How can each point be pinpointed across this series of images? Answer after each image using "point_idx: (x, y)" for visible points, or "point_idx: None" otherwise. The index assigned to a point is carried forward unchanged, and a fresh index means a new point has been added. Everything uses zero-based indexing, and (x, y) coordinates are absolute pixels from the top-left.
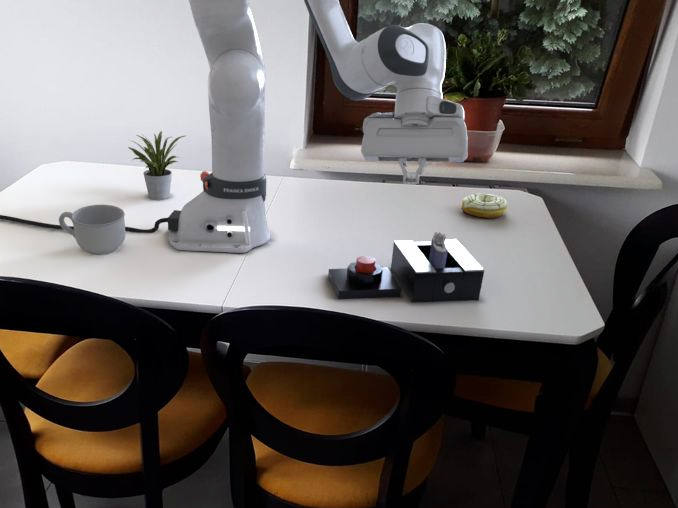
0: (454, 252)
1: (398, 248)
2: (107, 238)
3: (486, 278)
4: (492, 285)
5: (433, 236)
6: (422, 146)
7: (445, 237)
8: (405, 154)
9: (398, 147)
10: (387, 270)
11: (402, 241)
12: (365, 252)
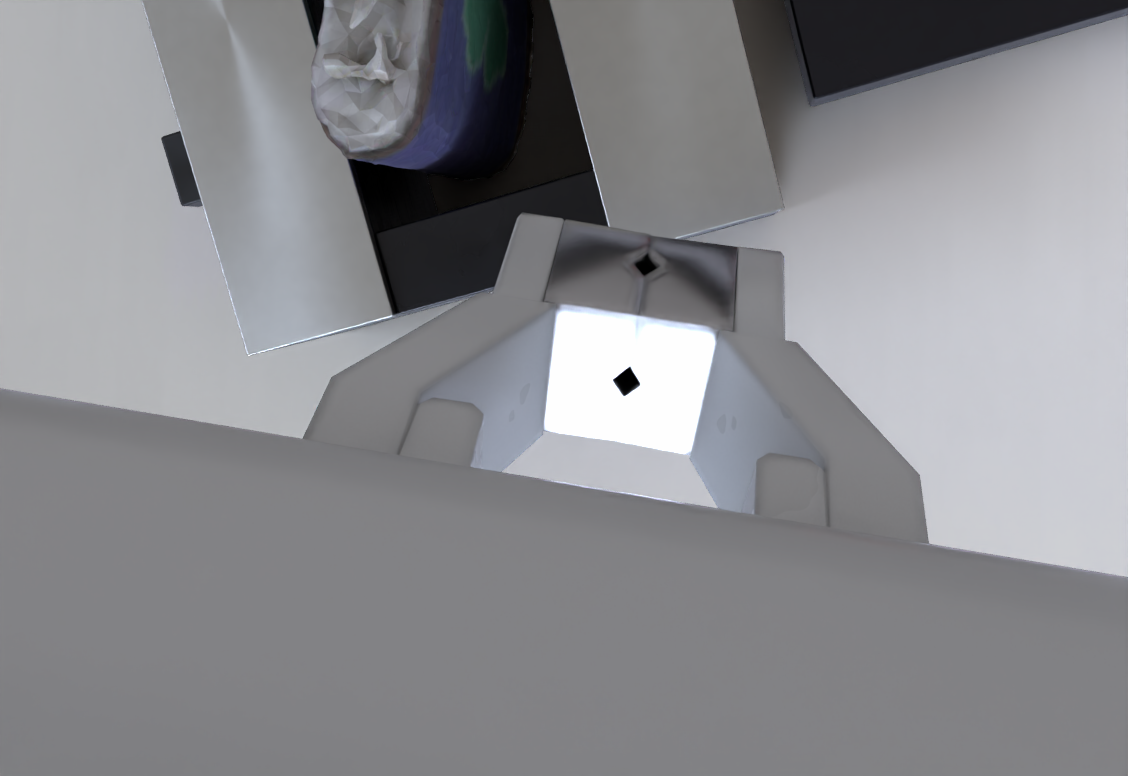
0: (271, 44)
1: (746, 55)
2: None
3: (131, 197)
4: (101, 90)
5: (421, 78)
6: (293, 631)
7: (312, 62)
8: (796, 532)
9: (1044, 736)
10: (816, 28)
11: (705, 210)
12: (964, 514)
